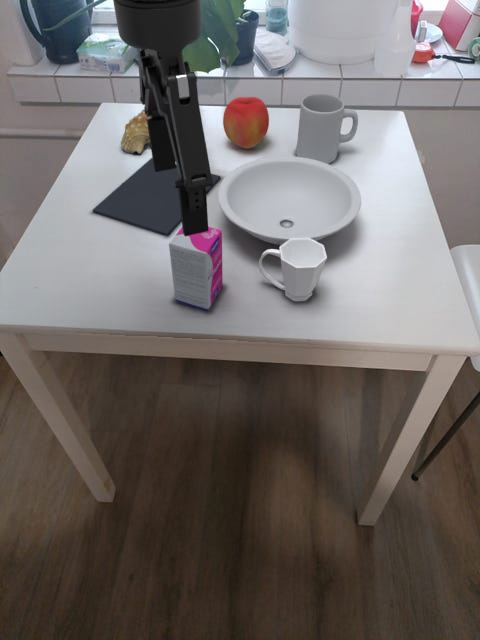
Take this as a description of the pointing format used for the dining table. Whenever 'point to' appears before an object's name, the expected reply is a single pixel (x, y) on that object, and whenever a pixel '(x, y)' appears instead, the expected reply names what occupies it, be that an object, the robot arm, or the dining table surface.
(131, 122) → the seashell
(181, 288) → the supplement box
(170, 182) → the mat
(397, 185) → the dining table surface
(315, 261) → the cup
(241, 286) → the dining table surface
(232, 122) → the apple
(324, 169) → the white sink basin
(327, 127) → the mug
